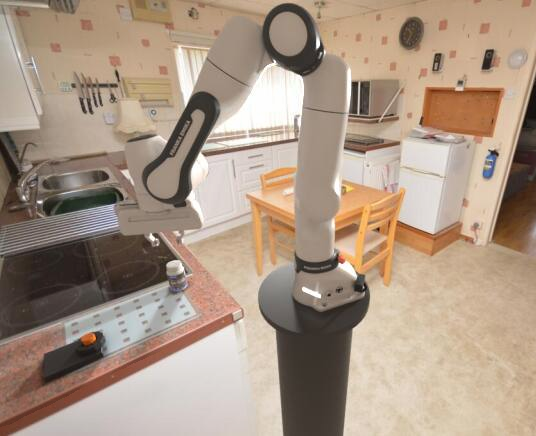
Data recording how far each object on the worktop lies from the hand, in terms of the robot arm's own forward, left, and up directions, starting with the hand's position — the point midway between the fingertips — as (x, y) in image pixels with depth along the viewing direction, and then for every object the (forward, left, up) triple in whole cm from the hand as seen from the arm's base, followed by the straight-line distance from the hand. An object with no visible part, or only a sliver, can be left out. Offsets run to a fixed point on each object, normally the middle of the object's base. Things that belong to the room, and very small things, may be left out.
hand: (168, 244), depth 82 cm
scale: (+18, +21, -15) cm, 32 cm away
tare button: (+15, +20, -12) cm, 28 cm away
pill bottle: (0, 0, -15) cm, 15 cm away
